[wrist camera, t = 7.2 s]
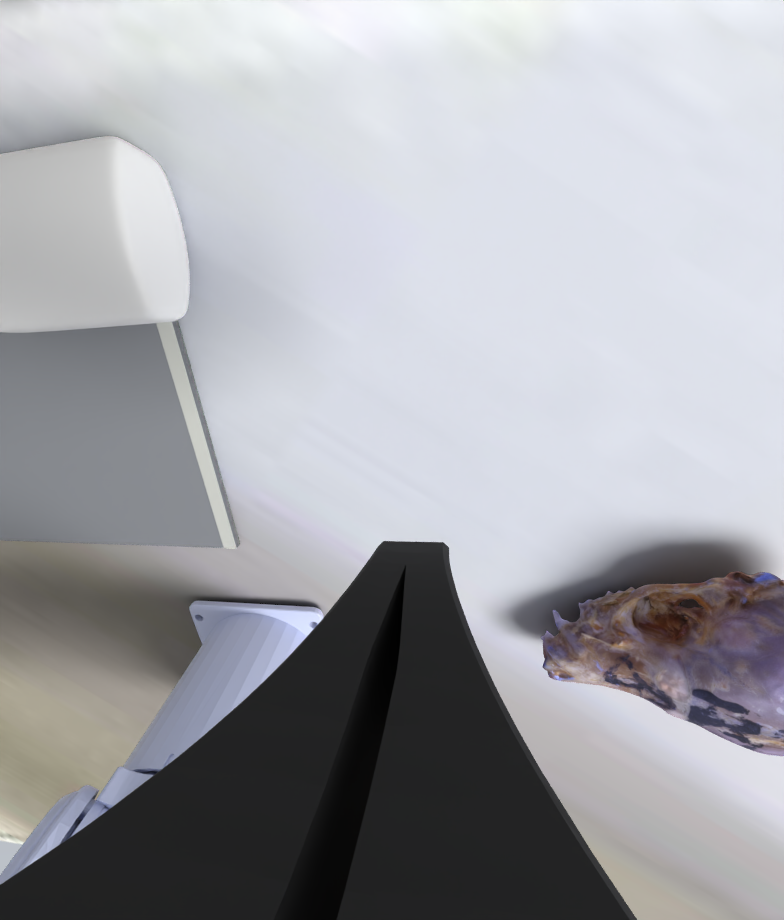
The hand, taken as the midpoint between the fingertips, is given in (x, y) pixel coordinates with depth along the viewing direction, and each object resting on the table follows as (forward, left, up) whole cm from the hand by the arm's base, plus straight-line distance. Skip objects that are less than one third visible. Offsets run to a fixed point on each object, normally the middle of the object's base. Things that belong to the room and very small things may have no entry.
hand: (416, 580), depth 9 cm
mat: (-1, +19, -10) cm, 21 cm away
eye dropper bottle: (+7, +9, -9) cm, 15 cm away
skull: (-11, -11, -11) cm, 18 cm away
